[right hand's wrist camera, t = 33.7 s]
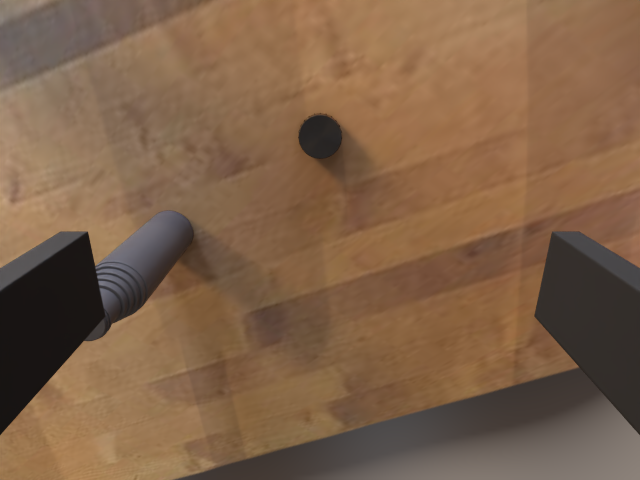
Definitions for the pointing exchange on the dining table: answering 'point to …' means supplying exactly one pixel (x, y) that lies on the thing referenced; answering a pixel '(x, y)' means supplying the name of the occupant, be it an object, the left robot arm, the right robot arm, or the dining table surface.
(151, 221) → the bottle
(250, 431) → the dining table surface
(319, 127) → the cap
